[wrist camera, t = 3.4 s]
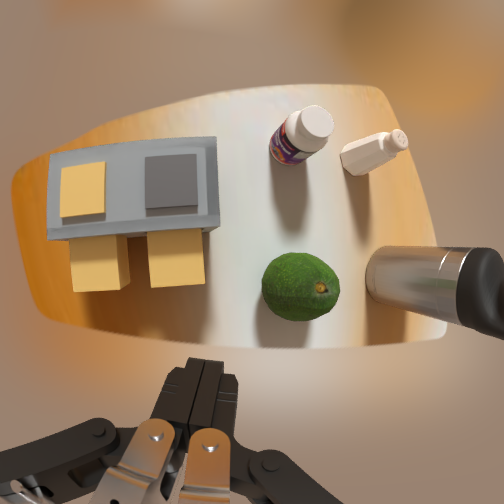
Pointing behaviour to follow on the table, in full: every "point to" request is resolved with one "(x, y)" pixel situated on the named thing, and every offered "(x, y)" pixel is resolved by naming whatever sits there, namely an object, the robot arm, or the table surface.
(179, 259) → the button
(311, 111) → the pill bottle
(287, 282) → the fruit
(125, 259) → the button
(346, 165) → the pepper shaker
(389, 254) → the robot arm
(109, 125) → the table surface
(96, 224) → the console
